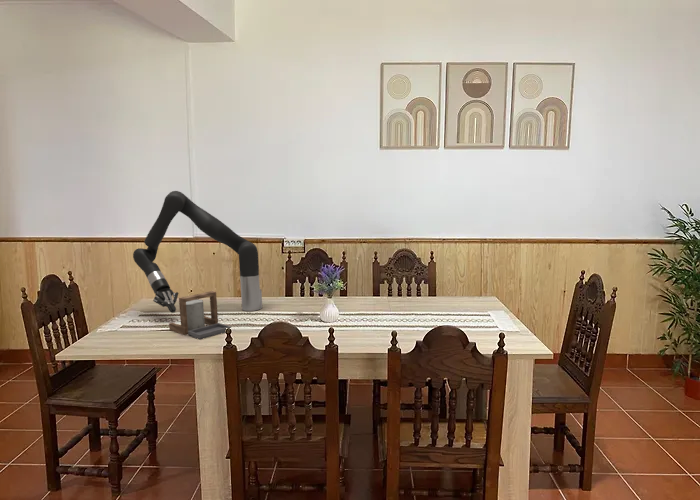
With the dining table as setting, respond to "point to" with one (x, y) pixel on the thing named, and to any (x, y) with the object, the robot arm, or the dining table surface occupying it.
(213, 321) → the walnut frame
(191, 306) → the grey upright pillar
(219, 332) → the grey shallow rectangular tray
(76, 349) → the dining table surface
